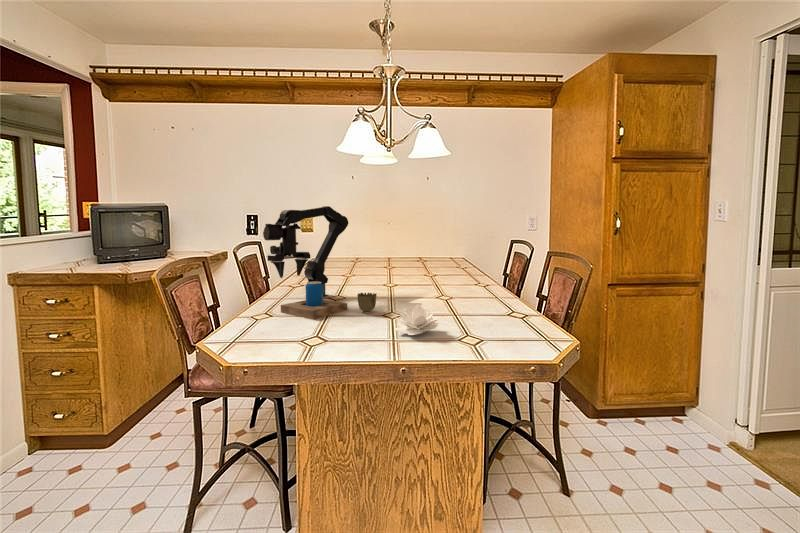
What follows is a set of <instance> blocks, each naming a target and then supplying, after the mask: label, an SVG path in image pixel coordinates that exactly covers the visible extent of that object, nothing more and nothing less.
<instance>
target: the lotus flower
mask: <svg viewBox="0 0 800 533" xmlns="http://www.w3.org/2000/svg"><path fill="white" fill-rule="evenodd" d="M403 310H404V312H405V314H403V313H402V312H399V317H400V318H401V319H400V318H397V317H395V319H396V320H397V321H398V322H397V326H398V327H396V328H394V329H393V330H394V331H395V332H398V333H401V334H406V335H407V336H414V335H415V336H416V335H420V334H423V333H424V332H426V331H431V330H435V329H437V327H438V326H439V324H440V323H439V322H437V321H438V319H439V318H434V316H433V315H434V312H432V313H431V314H429V312H428V310H427V309H426V308H423V307H422V305H421V304H419V303H418V304H416V305H415V306H414V307H413V308H412V309H410V308H408V309H407V310H406V309H405V308H403Z"/></svg>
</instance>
